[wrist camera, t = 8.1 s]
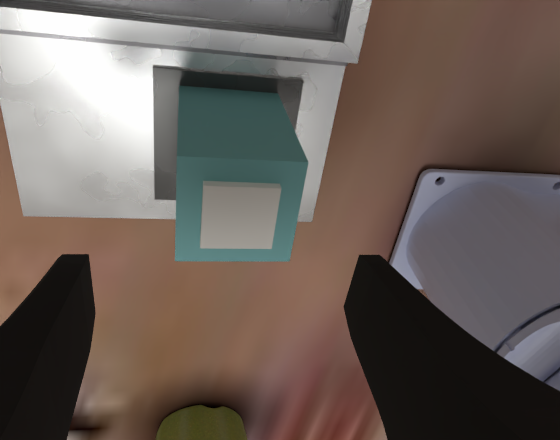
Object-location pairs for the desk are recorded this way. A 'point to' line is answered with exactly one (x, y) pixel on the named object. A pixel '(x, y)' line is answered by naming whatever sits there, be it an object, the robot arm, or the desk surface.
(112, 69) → the lid
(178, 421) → the plant pot
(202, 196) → the block
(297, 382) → the desk surface
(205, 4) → the case
